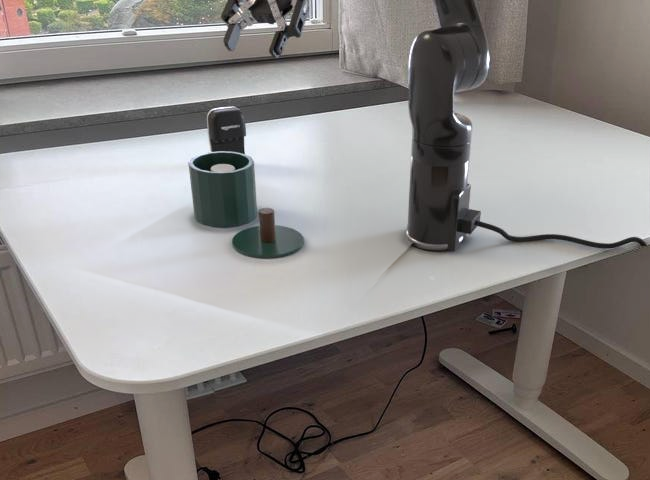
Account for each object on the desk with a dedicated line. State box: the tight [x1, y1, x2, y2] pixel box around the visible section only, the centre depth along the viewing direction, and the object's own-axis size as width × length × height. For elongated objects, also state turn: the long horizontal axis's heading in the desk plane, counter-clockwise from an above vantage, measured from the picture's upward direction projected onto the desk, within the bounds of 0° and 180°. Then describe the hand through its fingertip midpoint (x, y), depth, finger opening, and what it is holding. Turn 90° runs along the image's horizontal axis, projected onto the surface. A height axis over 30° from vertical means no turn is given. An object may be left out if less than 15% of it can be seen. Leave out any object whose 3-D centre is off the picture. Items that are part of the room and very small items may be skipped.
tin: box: [187, 151, 258, 229], centre depth 131 cm, size 10×10×10 cm
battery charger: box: [206, 106, 247, 154], centre depth 150 cm, size 7×4×11 cm, turn 122°
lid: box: [231, 207, 305, 259], centre depth 124 cm, size 11×11×6 cm
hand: (250, 51), depth 128 cm, fingers open, 8 cm apart
